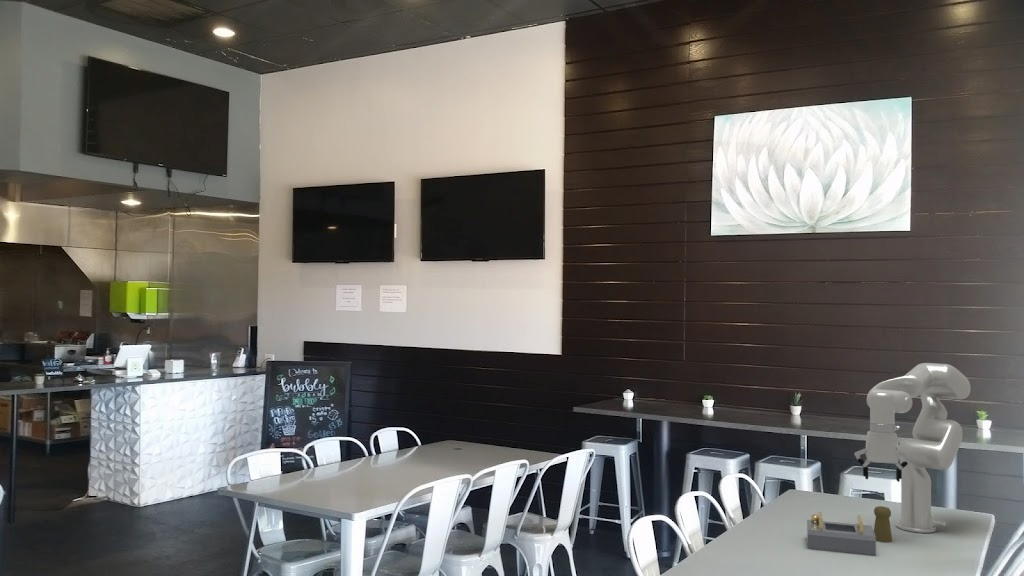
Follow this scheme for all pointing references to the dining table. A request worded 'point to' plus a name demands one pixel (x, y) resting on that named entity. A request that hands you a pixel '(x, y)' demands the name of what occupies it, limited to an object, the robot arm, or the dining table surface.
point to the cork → (882, 524)
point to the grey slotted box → (840, 536)
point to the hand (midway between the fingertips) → (882, 479)
